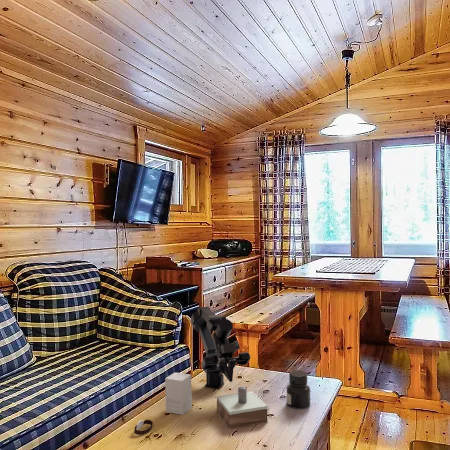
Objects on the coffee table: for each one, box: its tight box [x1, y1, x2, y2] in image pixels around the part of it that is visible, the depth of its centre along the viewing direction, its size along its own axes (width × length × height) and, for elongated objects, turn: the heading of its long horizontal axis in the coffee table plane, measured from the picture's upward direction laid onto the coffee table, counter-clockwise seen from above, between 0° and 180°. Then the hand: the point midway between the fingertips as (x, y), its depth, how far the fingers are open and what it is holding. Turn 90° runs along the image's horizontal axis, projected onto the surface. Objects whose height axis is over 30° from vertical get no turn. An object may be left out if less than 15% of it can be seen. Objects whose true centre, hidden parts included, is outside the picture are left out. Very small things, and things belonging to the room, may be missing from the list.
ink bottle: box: [286, 370, 311, 410], centre depth 172 cm, size 10×9×12 cm
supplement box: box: [164, 372, 193, 416], centre depth 169 cm, size 7×7×13 cm
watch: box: [133, 419, 154, 436], centre depth 153 cm, size 8×5×4 cm, turn 150°
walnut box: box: [216, 399, 269, 429], centre depth 162 cm, size 14×14×4 cm
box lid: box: [216, 386, 268, 415], centre depth 162 cm, size 14×14×6 cm
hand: (231, 381), depth 172 cm, fingers closed
